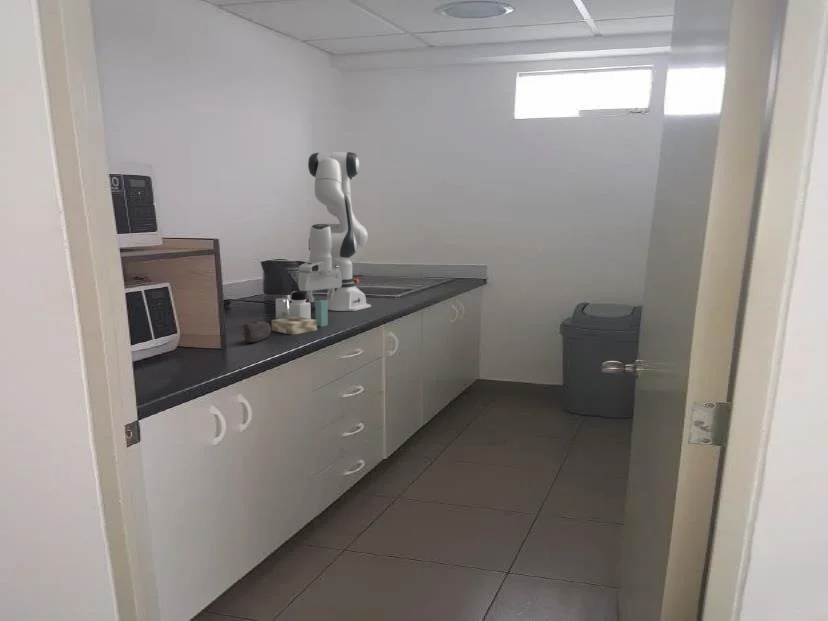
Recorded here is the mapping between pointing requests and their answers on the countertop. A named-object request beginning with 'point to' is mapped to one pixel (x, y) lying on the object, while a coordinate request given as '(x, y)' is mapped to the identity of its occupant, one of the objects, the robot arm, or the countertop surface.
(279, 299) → the cylinder
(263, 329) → the perforated stone tool
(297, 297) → the medicine bottle
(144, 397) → the countertop surface
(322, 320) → the square bit
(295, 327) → the bore block
